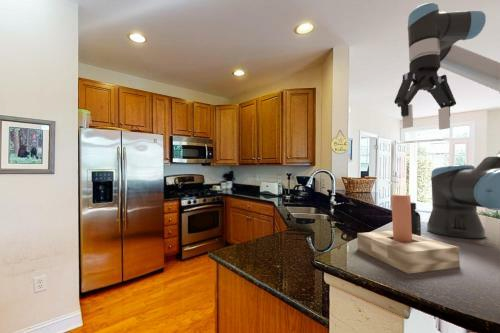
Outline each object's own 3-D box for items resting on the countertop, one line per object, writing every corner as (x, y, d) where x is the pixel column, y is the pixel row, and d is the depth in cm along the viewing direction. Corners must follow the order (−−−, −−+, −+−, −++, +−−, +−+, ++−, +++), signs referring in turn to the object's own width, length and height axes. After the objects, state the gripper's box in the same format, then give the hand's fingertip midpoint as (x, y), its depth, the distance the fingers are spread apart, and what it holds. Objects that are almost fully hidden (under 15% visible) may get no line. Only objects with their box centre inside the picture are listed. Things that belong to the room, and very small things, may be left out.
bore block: (399, 245, 67) (399, 230, 67) (459, 267, 52) (459, 247, 52) (357, 249, 64) (357, 233, 64) (408, 273, 49) (407, 252, 49)
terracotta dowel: (402, 247, 60) (400, 194, 61) (416, 252, 56) (414, 195, 57) (389, 249, 60) (387, 194, 60) (403, 254, 56) (400, 196, 56)
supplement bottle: (426, 245, 67) (424, 204, 68) (400, 244, 69) (399, 203, 69) (414, 238, 74) (413, 201, 75) (391, 237, 76) (390, 201, 76)
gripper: (443, 68, 76) (446, 131, 76) (379, 61, 71) (381, 129, 70) (469, 56, 69) (472, 126, 68) (400, 48, 64) (402, 124, 63)
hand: (426, 128), depth 69 cm, fingers open, 13 cm apart
